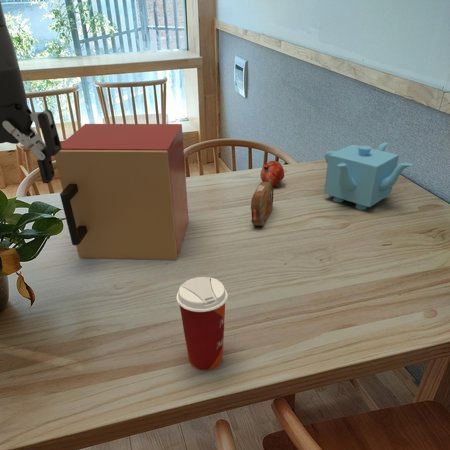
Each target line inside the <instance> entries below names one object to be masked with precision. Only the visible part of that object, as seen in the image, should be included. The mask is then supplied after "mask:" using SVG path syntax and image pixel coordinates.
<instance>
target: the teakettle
mask: <svg viewBox="0 0 450 450" xmlns="http://www.w3.org/2000/svg"><path fill="white" fill-rule="evenodd" d="M388 145H389V143H388V142H387V141H386V142H382V143H380V144H379V145H378V146H377V148H376V149H375V148H373V147H372V146H370V145H367V144H364V145H357V144H349V145H348V146H346V147H344V148H343V147H342V148H341V149H339V150H329V151H326V153H324V160H325V162H326V164H327V165H326V173H325V181H324V190H323V194H324V195H328V196H331V197H333V199H332V201H333V202H335V203H343V202H344V201H347V202H351V203H354V204H355V209H357V210H360V211H362V210H366V209H368V208H371V207H372V206H374V205H376V204H377V203H378V202H380V201H382V200H384V199H385V198H386V197H388V196H389V195H391V194H392V191H393V186H394V185H395V184H396V182H397V181H398V179H399V178H400V175H401V174H402V173H403V171H404V170H405V169H406V168H409V167H414V164H413V163H409V162H401V163H399V164H398V162H399V158H400V155H399V154H396V153H392V152H388V151H385V149H386V148H387V146H388Z"/></svg>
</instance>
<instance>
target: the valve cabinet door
mask: <svg viewBox="0 0 450 450" xmlns="http://www.w3.org/2000/svg"><path fill="white" fill-rule="evenodd" d="M54 160H55V163H56V169H57V172H58V176H59V180H60V184H61V185H60V186H61V188H62V191H61V192H60V193H59V197H60V201H61V204H62V208H63V213H64V217H65V220H66V225H67V228H68V232H69V233H68V234H69V236H70V241H71V244H72V245H73V246H76V250H77V255H78V258H79V259H110V260H111V259H112V260H114V259H115V260H116V259H117V260H155V261H156V260H157V261H178V258H177V247H176V236H175V225H174V215H173V204H172V193H171V182H170V172H169V161H168V151H167V150H60V151H59V152H58V153H57V154H56V155H55V156H54Z"/></svg>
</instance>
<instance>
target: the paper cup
mask: <svg viewBox="0 0 450 450" xmlns="http://www.w3.org/2000/svg"><path fill="white" fill-rule="evenodd" d="M228 297H229V295H228V291H227V290H226V288H225V286H224V284H223V283H222V282H221V281H220V280H219V279H216V278H214V277H208V276H198V277H193V278H191V279H188V280H186V281H184V282H183V283H182V284H181V285H180V286H179V288H178V291H177V293H176V296H175V298H176V302H177V304H178V306H179V311H180V316H181V322H182V329H183V335H184V339H185V340H184V341H185V346H186V352H187V357H188V361H189V363H190V365H191V366H192V367H193V368H196V369H198V370H200V371H201V370H202V371H207V370H213V369H215V368H216V367H218V366H219V365H220V364H221V362H222V360H223V355H224V339H225V319H226V318H225V317H226V302H227V301H228Z"/></svg>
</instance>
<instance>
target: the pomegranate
mask: <svg viewBox="0 0 450 450" xmlns="http://www.w3.org/2000/svg"><path fill="white" fill-rule="evenodd" d="M259 176H260V180H261V182H272V184H273V188H276V187H277V186H279V185H280V184H281V182H283V179H285V170H284V167H283V165H282V164H281V163H280V161H277V160H270V161H268V162H266V163H265V164H263V166H262V168H261V170H260V175H259Z"/></svg>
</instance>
